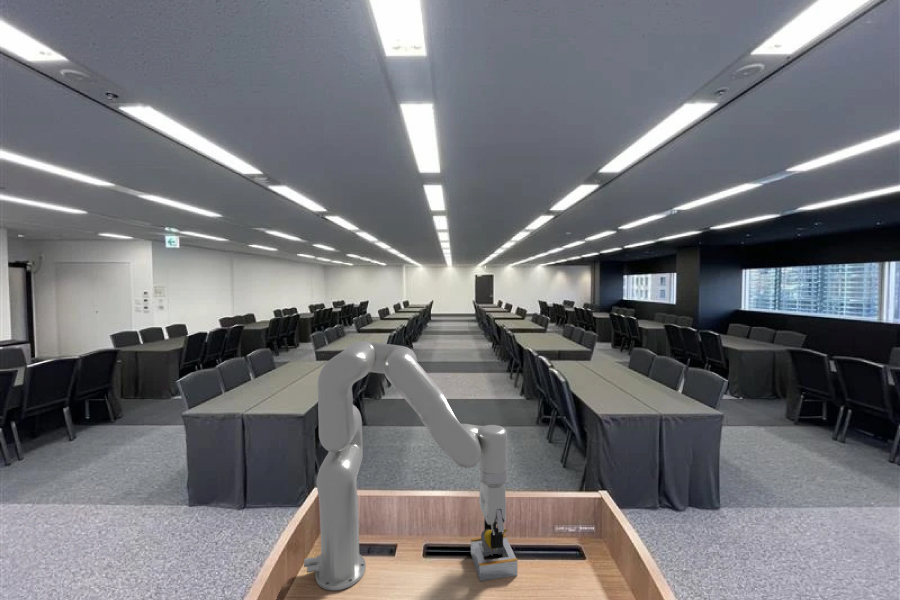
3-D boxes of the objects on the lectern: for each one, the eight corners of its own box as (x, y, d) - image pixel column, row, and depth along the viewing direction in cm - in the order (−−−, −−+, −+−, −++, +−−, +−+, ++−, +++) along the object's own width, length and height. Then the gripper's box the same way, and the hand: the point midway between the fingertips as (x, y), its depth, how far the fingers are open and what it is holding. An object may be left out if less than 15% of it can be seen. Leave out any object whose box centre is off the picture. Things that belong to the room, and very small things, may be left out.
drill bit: (489, 539, 108) (513, 524, 104) (489, 559, 104) (515, 544, 100) (474, 531, 107) (498, 515, 103) (473, 551, 102) (499, 535, 98)
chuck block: (479, 581, 99) (479, 564, 98) (470, 553, 109) (470, 538, 108) (517, 575, 100) (517, 559, 100) (505, 548, 110) (505, 534, 110)
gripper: (471, 460, 111) (472, 521, 112) (488, 493, 94) (488, 564, 95) (497, 457, 112) (497, 518, 113) (517, 489, 95) (517, 560, 96)
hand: (493, 538), depth 104 cm, fingers closed on drill bit, 5 cm apart
